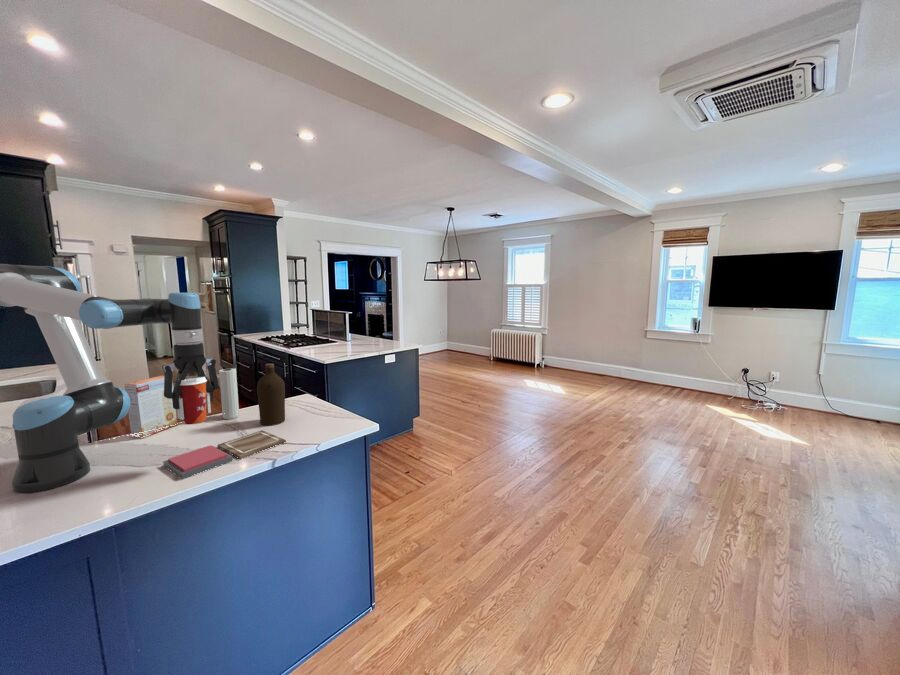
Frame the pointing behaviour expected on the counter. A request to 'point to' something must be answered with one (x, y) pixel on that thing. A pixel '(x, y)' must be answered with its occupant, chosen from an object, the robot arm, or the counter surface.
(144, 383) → the cracker box
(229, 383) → the paper towel roll
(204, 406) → the paper cup
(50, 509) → the counter surface
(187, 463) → the ink pad
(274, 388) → the olive oil
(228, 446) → the marked board
